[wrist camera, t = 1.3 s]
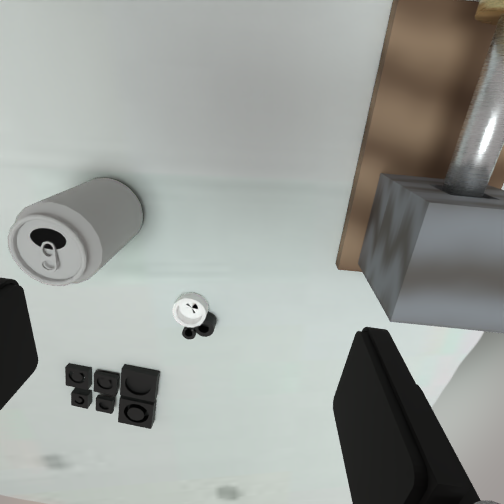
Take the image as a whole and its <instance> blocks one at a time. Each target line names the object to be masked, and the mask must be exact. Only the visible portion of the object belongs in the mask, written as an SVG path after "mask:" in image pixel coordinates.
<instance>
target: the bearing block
mask: <svg viewBox="0 0 504 504" xmlns="http://www.w3.org/2000/svg"><path fill="white" fill-rule="evenodd" d="M478 4H479V2H476V1H464V0H393V4H392V8H391V13H390V17H389V22H388V27H387V31H386V36H385V40H384V45H383V49H382V54H381V59H380V63H379V68H378V72H377V77H376V81H375V86H374V91H373V95H372V100H371V104H370V109H369V113H368V118H367V123H366V127H365V132H364V136H363V141H362V145H361V150H360V155H359V159H358V164H357V168H356V173H355V177H354V182H353V187H352V191H351V196H350V200H349V205H348V209H347V214H346V219H345V223H344V228H343V232H342V237H341V241H340V246H339V251H338V255H337V260H336V266H337V268H338V270H349V271H359V272H363V274H364V275H365V277H366V279H367V281H368V282H369V284H370V286H371V288H372V290H373V291H374V293H375V295H376V297H377V299H378V300H379V302H380V304H381V306H382V308H383V309H384V311H385V313H386V315H387V316H388V318H389V320H390V322H399V323H409V324H419V325H429V326H439V327H449V328H459V329H468V330H478V331H489V332H498V333H504V190H501V188H502V186H503V183H504V144H503V147H502V149H501V152H500V154H499V157H498V159H497V162H496V164H495V167H494V170H493V172H492V175H491V177H490V180H489V182H488V185H487V187H486V190H485V192H484V195H483V197H482V198H476V197H466V196H455V195H450V194H448V193H446V192H443V191H441V189H442V186H443V183H444V180H445V177H446V174H447V171H448V168H449V165H450V162H451V159H452V156H453V153H454V150H455V147H456V144H457V141H458V138H459V135H460V132H461V129H462V126H463V123H464V120H465V118H466V115H467V112H468V109H469V106H470V103H471V100H472V97H473V94H474V91H475V88H476V85H477V82H478V79H479V76H480V73H481V70H482V67H483V64H484V61H485V58H486V55H487V52H488V49H489V46H490V44H491V41H492V38H493V35H494V32H495V29H496V26H497V25H491V24H485V23H482V22H479V21H477V20H476V19H475V14H476V11H477V8H478Z"/></svg>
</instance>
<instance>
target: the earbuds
mask: <svg viewBox="0 0 504 504" xmlns="http://www.w3.org/2000/svg"><path fill="white" fill-rule="evenodd" d="M208 310H209V309H208V303H207V301H206V299H204V298H203V297H202V296H201V295H199V294H196V293H185V294H183V295H181V296H180V297H179V298H178V299H177V301H176V303H175V304H174V307H173V316H174V318H175V320H176V321H177V322H178V323H179V324H181V325H183V326H185V327H184V329H183V331H182V335H183V336H184V337H185V338H186V339H193V338H194V337H195V335H196V332H197V333H198V334H199V335H201V336H205V337H207V336H210V335H211V334H212V333H213V332H214V328H215V325H216V318H215V316H214V315H213V314H211V313H208ZM65 372H66V385H67V386H72V387H75V389H74V390H73V391H72V392H71V405H73V406H77V407H82V408H87V409H88V407H89V406H90V404H91V403H92V390H88V389H89V388H90V386H91V385H92V367H86V366H81V365H76V364H70V363H69V364H68V365H67V366H66V367H65ZM159 373H160V372H159V371H154V370H149V369H145V368H140V367H135V366H131V365H126V364H124V366H123V368H122V372H121V388H120V395H121V397H120V400H119V417H118V422H120V423H125V424H130V425H135V426H140V427H145V428H149V429H151V428H152V425H153V423H154V420H155V409H156V398H157V390H158V382H159ZM84 377H85V378H84ZM118 380H119V375H115V374H110V373H106V372H101V371H97V370H96V372H95V373H94V391H95V392H100V393H104V394H109V395H114V396H116V395H117V393H118ZM96 411H101V412H105V413H110V414H112V413H113V411H114V398H110V397H105V396H101V395H98V396H97V397H96Z"/></svg>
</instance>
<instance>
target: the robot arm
mask: <svg viewBox="0 0 504 504" xmlns="http://www.w3.org/2000/svg"><path fill="white" fill-rule="evenodd" d="M37 364H38V355H37V351H36V346H35V341H34V337H33V332H32V327H31V323H30V318H29V313H28V308H27V304H26V299H25V294H24V290H23V288H22V287H21V286H19V284H18V282H17V281H16V280H13V279H6V278H0V410H1V409H2V408H3V407H4V405H5V404H6V403H7V402H8V401H9V400H10V399H11V397H12V396H13V395H14V394H15V393H16V392H17V390H18V389H19V388H20V387H21V386H22V385H23V384H24V382H25V381H26V380H27V379H28V378H29V377H30V376H31V374H32V373H33V372H34V371H35V369H36V367H37ZM333 411H334V416H335V421H336V426H337V430H338V435H339V440H340V445H341V449H342V454H343V459H344V464H345V469H346V473H347V478H348V483H349V488H350V492H351V497H352V502H353V504H499V503H496V502H494V501H481V500H480V498H479V497H478V495H477V493H476V491H475V489H474V487H473V485H472V483H471V482H470V480H469V478H468V476H467V474H466V472H465V470H464V469H463V467H462V465H461V463H460V461H459V459H458V457H457V455H456V453H455V452H454V450H453V448H452V446H451V444H450V442H449V440H448V438H447V437H446V435H445V433H444V431H443V429H442V427H441V425H440V423H439V422H438V420H437V418H436V416H435V414H434V412H433V410H432V408H431V406H430V405H429V403H428V401H427V399H426V397H425V395H424V393H423V391H422V390H421V388H420V387H419V386H418V385H417V384H416V383H415V381H414V379H413V377H412V376H411V374H410V372H409V370H408V368H407V366H406V364H405V362H404V360H403V358H402V356H401V354H400V353H399V351H398V349H397V347H396V345H395V343H394V341H393V339H392V337H391V335H390V333H389V332H388V331H387V330H385V329H378V328H370V327H365V328H364V329H363V330H362V332H361V331H358V332H357V333H356V334H355V337H354V340H353V343H352V346H351V349H350V352H349V355H348V358H347V361H346V364H345V367H344V370H343V372H342V375H341V378H340V381H339V384H338V387H337V390H336V393H335V396H334V400H333Z"/></svg>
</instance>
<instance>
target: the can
mask: <svg viewBox="0 0 504 504" xmlns="http://www.w3.org/2000/svg"><path fill="white" fill-rule="evenodd" d="M142 221H143V212H142V207H141V204H140V202H139V200H138V198H137V197H136V195H135V194H134V193H133V192H132V191H131V190H130V189H129V188H128V187H127V186H126V185H124V184H122V183H121V182H119V181H117V180H113V179H109V178H95V179H93V180H90V181H88V182H85V183H83V184H81V185H78V186H76V187H73V188H71V189H68V190H66V191H63V192H61V193H59V194H56V195H54V196H51V197H49V198H46V199H44V200H41V201H39V202H37V203H34V204H32V205H30V206H27V207H25V208H24V209H23V210H22V211H21V212H20V213H19V214H18V216H17V217H16V220H15V223H14V224H13V226H12V227H11V228H10V232H9V235H8V247H9V250H10V253H11V255H12V258H13V260H14V261H15V262H16V263H17V265H18V266H19V267H20V269H21V270H22V271H24V272H25V273H26V274H27V275H29V276H30V277H31V278H33V279H35V280H37V281H39V282H41V283H44V284H48V285H52V286H65V285H68V284H72V283H80V282H83V281H86V280H88V279H90V278H91V277H92V276H93V275H94V274H95V273H96V272H98V271H99V270H100V269H101V268H102V267H103V266H104V265H105V264H106V263H107V262H108V261H109V260H110V259H111V258H112V257H113V256H114V255H115V254H116V253H117V252H119V251H120V250H121V249H122V248H123V247H124V246H125V245H126V244H127V243H128V242H129V241H130V240H131V239H132V238H133V237H134V236H135V235H136V234H137V233H138V232H139V230H140V228H141V226H142Z"/></svg>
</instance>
